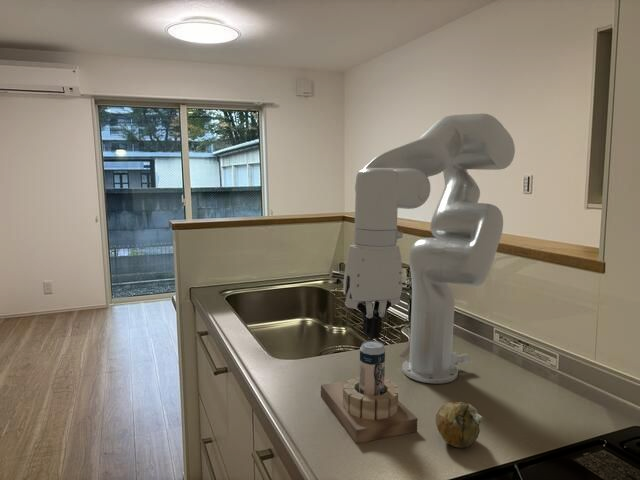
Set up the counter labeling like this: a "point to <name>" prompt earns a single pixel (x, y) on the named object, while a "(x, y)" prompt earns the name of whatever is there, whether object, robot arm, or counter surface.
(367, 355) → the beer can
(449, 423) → the onion
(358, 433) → the board
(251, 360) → the counter surface
